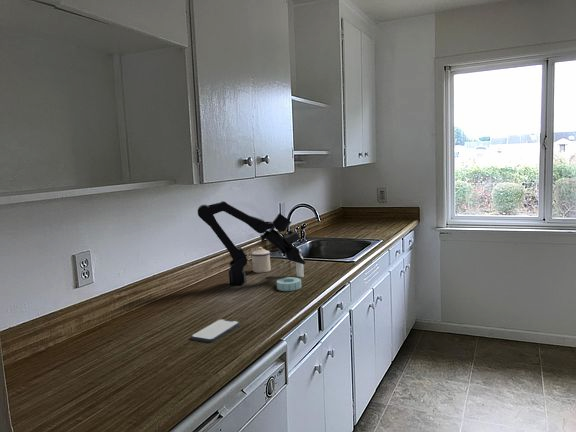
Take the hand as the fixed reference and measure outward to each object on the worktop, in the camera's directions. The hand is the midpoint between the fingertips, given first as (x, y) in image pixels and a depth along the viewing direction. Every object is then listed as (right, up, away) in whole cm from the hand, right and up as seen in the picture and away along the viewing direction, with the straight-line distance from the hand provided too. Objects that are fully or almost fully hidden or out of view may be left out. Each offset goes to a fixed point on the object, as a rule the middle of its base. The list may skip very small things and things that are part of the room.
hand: (302, 261), depth 216 cm
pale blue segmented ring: (-6, -9, -17) cm, 20 cm away
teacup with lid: (-21, -6, +17) cm, 27 cm away
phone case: (-29, -17, -63) cm, 71 cm away
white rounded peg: (-1, -7, +1) cm, 7 cm away
